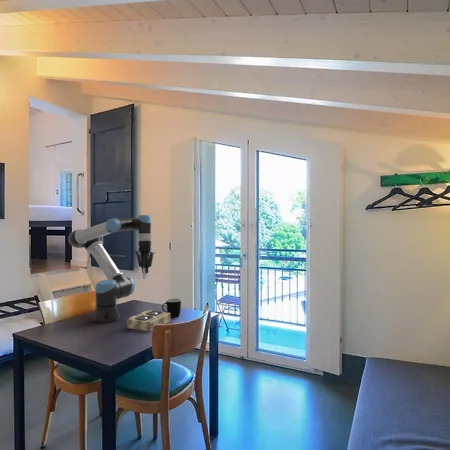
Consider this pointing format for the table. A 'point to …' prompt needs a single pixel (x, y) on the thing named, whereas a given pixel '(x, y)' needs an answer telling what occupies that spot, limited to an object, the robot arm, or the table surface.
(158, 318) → the socket block
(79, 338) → the table surface
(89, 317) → the table surface
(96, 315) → the robot arm
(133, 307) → the table surface
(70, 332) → the table surface
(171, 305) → the mug
